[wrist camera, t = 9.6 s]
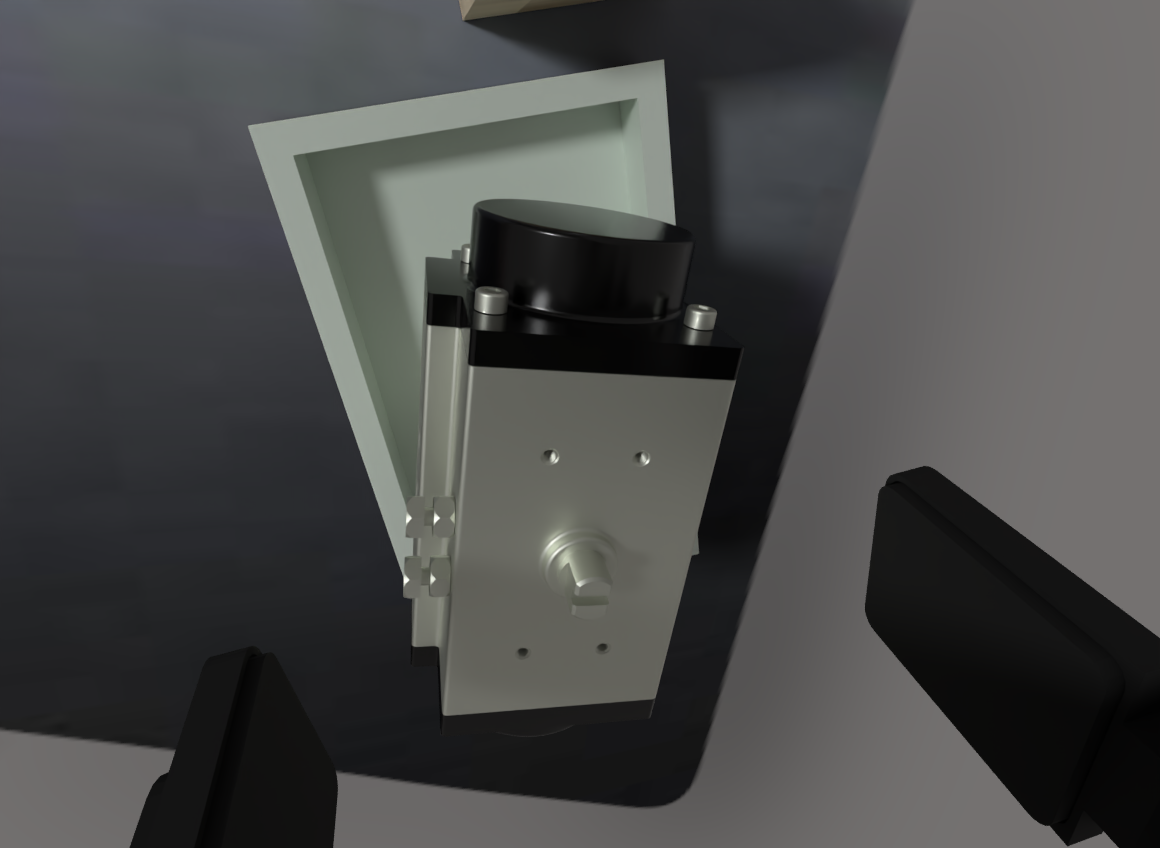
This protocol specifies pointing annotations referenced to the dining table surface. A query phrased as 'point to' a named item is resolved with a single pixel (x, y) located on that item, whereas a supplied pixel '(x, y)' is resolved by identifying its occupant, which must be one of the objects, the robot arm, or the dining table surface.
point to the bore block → (509, 6)
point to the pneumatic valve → (559, 464)
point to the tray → (442, 219)
